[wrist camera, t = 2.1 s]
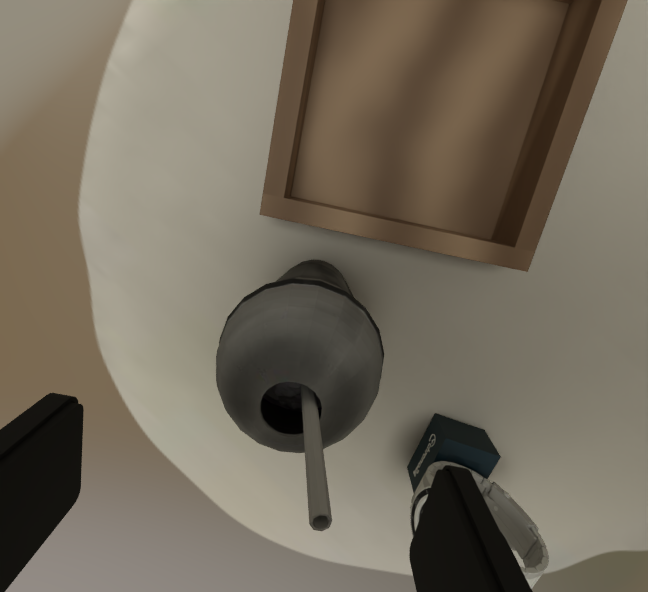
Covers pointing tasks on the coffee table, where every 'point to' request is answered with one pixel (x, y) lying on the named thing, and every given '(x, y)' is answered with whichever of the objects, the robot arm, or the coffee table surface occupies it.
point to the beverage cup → (301, 369)
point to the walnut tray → (434, 118)
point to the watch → (480, 458)
